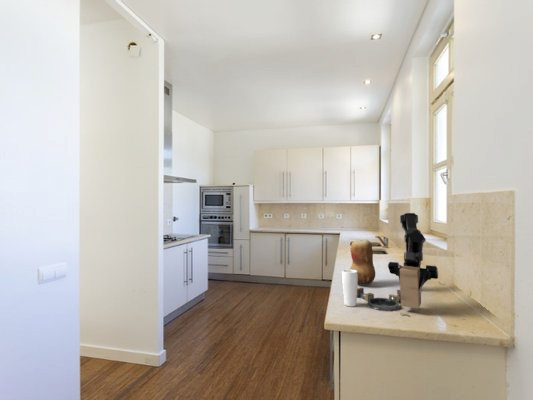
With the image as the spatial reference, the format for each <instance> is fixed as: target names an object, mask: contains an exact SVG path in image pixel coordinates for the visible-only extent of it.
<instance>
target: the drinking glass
mask: <svg viewBox="0 0 533 400" xmlns="http://www.w3.org/2000/svg"><path fill="white" fill-rule="evenodd" d="M341 282H342V285H341V286H342V293H343V304H344V306H347V307H356V306H357V288H358V285H359V284H358V274H357V271H356V270H350V269H342V270H341Z"/></svg>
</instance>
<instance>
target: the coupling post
mask: <svg viewBox="0 0 533 400" xmlns="http://www.w3.org/2000/svg"><path fill="white" fill-rule="evenodd" d="M401 266H402V268H401V269H400V281H399V285H400V286H399V287H400V289H399V290H400V291H401V300H400V306H401V307H407V308H412V309H419V308H420V306H421V304H422V290H421V289H422V288H421V289H419V282H420V268H421V267H410V266H403V265H401Z"/></svg>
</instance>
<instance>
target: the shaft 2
mask: <svg viewBox="0 0 533 400" xmlns="http://www.w3.org/2000/svg"><path fill="white" fill-rule="evenodd" d="M388 299H392V300H395V301H397V302H398V303H399V304H400V302H401V291H400V289H397V290H396V294H393V293H392V294H388Z"/></svg>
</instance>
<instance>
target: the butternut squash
mask: <svg viewBox="0 0 533 400" xmlns="http://www.w3.org/2000/svg"><path fill="white" fill-rule="evenodd" d="M373 253H374V252H373V244H372V243H371V241H370V240H368V239H358V240H357V239H356V240H354V241H353V242H352V243H351V246H350V255H351V259H352V263H351V265H350V270H356V271H357V274H358V284H357V285H359V286H368V285H371V284H372V283H373V282H374V280H375V278H376V270H375V269H376V268H375V266H374V259H373V258H374V254H373Z"/></svg>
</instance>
